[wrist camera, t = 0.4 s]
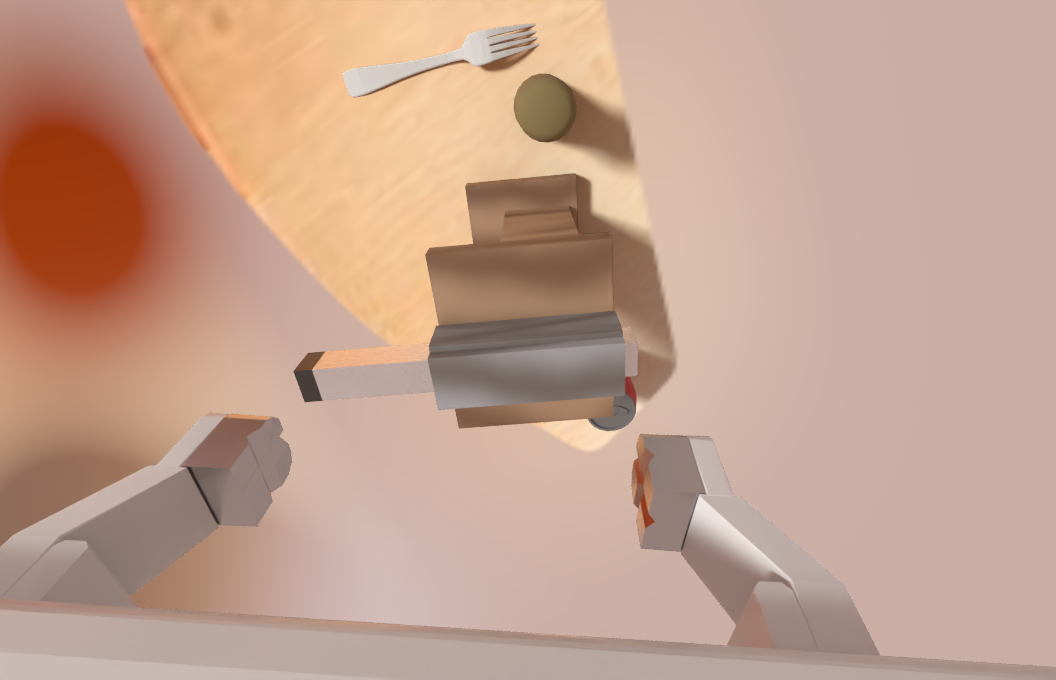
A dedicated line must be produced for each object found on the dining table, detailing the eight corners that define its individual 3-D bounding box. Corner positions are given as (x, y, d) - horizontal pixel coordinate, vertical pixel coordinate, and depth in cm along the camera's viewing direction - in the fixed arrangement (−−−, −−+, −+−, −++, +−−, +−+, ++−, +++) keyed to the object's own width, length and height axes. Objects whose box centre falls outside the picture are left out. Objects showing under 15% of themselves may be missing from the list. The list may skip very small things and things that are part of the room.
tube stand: (467, 183, 54) (410, 280, 27) (574, 173, 54) (625, 261, 27) (483, 298, 61) (451, 470, 33) (579, 290, 60) (624, 457, 33)
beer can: (617, 380, 66) (634, 436, 56) (569, 377, 66) (578, 433, 56) (625, 338, 63) (646, 389, 53) (575, 334, 63) (586, 385, 52)
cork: (570, 70, 49) (581, 66, 39) (572, 134, 52) (584, 145, 42) (510, 76, 49) (507, 74, 40) (516, 140, 52) (515, 152, 42)
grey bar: (308, 352, 33) (293, 371, 31) (630, 326, 32) (638, 343, 30) (318, 382, 34) (304, 402, 32) (630, 357, 33) (637, 375, 31)
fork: (347, 71, 51) (336, 71, 49) (538, 16, 47) (536, 14, 45) (358, 100, 53) (347, 101, 50) (544, 49, 49) (542, 48, 46)
